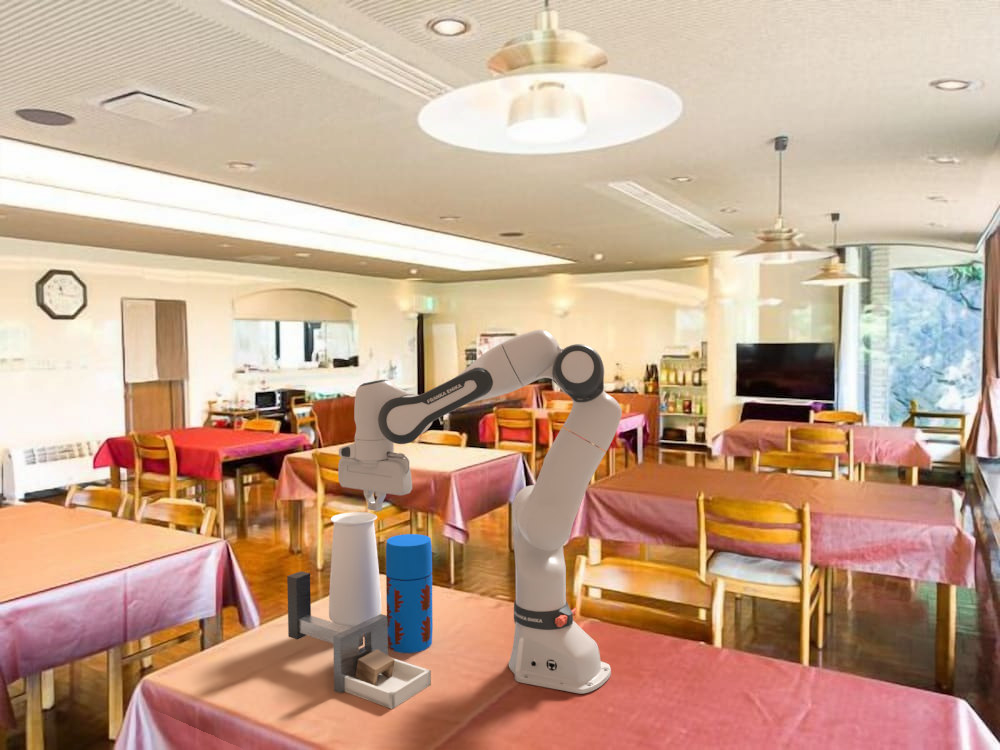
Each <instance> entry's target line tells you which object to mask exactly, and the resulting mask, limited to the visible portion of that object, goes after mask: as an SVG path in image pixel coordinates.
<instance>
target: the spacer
mask: <svg viewBox="0 0 1000 750" xmlns="http://www.w3.org/2000/svg"><path fill="white" fill-rule="evenodd" d="M395 659H396V658H394V659H393V657H392V656H389V654H388V655H386V654H385V653H383V652H381V651H380V650H378V649H377V650H375V651H373V652H371V653H369V654H367V655H365V656H364V657H362V658H360V659H358V663H357V670H356V676H355V677H357V678H358V679H360V680H361V681H364V682H367V683H369V684H372V685H375V686H376V683H377V677H378V675H379V674H380V673H381V674H382V675H384V676H385V677H387V678H390V677H392V673H393V667H394V660H395Z"/></svg>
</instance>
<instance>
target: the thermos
mask: <svg viewBox="0 0 1000 750" xmlns="http://www.w3.org/2000/svg"><path fill="white" fill-rule="evenodd" d="M432 549H433V545H432V539H431V537H430V536H428V535H425V534H417V533H412V534H411V533H406V534H398V535H394V536H391V537H389V538H388V539H387V540H386V546H385V568H386V570H385V577H386V578H385V580H386V583H385V585H386V587H385V588H386V616H387V625H388V649H389V650H391V651H392V652H395V653H400V654H413V653H420V652H423V651H425V650H427V649H429V648H431V646H432V644H433V629H434V628H433V624H434V623H433V550H432Z"/></svg>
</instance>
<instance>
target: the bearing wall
mask: <svg viewBox="0 0 1000 750" xmlns="http://www.w3.org/2000/svg"><path fill="white" fill-rule="evenodd" d="M362 635H363V638H364V645H363V647H362V646H361V647H359V643H358V637H360V636H362ZM333 642H334V644H333V689H334V690H333V691H334V692H336V693H339V694H343V693H346V692H345V677H346V676H350V677H353V678H355V679H358V678H357V677H355V676H356V670H357V663H358V659H360V658H362V657H364V656H365V655H367V654H369V653H371V652H373V651H375V650H377V649H378V650H380V651H381V652H383V653H385V654H386V655H388V656H389V653H388V652H389V647H388V625H387V614H386V615H384V614H382V613H381V614H380V615H378V616H375V617H373V618H371V619H369V620H367V621H365V622H363V623H360V624H358V625H356V626H354V627H352V628H350V629H348V630H345V631H343V632H341V633H339V634H337V635H335V636H333ZM358 680H359V679H358Z"/></svg>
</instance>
